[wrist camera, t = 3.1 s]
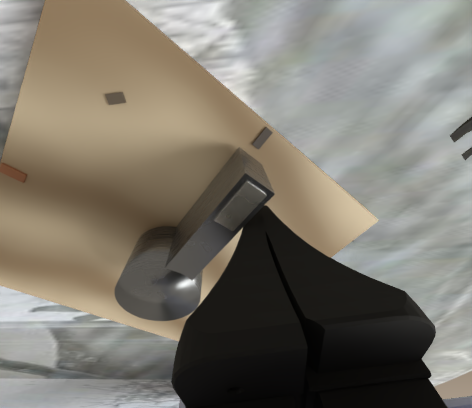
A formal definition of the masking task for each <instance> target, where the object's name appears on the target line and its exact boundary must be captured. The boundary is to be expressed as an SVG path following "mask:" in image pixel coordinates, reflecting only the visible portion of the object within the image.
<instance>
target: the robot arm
mask: <svg viewBox="0 0 472 408" xmlns="http://www.w3.org/2000/svg"><path fill="white" fill-rule="evenodd" d="M435 333H436V331H435V326H434V324H433V323H432V322H431V321H430V320H429V318H428V317H427V316H426V315H425V314H424V312H423V311H422V310H421V309H420V307H419V306H418V305H417V304H416V303H415V302H414V301H413V300H412V299H411V298H410V296H409V295H408V294H407V293H406V292H405V291H403V290H400V289H398V288H395V287H393V286H390V285H388V284H385V283H382V282H380V281H377V280H375V279H372V278H370V277H368V276H366V275H363V274H361V273H359V272H357V271H355V270H353V269H351V268H349V267H347V266H345V265H343V264H341V263H339V262H337V261H335V260H334V259H332V258H330V257H328V256H326V255H325V254H323V253H322V252H320V251H318V250H317V249H315V248H314V247H312V246H311V245H309V244H308V243H307V242H305V241H304V240H303V239H302V238H300V237H299V236H298V235H297V234H295V233H294V232H293V231H292V230H291V229H290V228H289V227H288V226H286V225H285V224H284V223H283V222H282V221H281V220H280V219H279V218H278V217H277V216H276V215H275V214H274V213H273V211H272V210H271V209H270V208H269V207H268V206H267V205H264V206H263V207H262V208H261V209H260V210H259V211H258V212H257V213H256V214H255V216H254V217H253V218H252V219H251V220H250V221H249V222H248V223H247V224H246V225H245V226H244V227H243V229H242V233H241V236H240V238H239V241H238V244H237V246H236V249H235V251H234V253H233V255H232V257H231V259H230V261H229V263H228V265H227V266H226V268H225V270H224V272H223V273H222V275H221V277H220V278H219V280H218V281H217V282H216V284H215V285H214V287H213V288H212V289H211V291H210V292H209V294H208V295H207V296H206V298H205V299H204V300H203V301H202V302H201V304H200V305H199V306H198V307H197V308H196V309H195V311H194V312H193V313H192V314H191V315H190V316H189V318H188V319H187V320H186V322H185V325H184V328H183V330H182V333H181V336H180V340H179V343H178V347H177V351H176V355H175V361H174V368H173V374H172V381H171V382H172V385H173V388H174V390H175V391H176V393H177V394H178V396H179V397H180V403H179V408H472V396H468V397H459V398H451V399H443V400H442V398H441V397H440V395H439V394H438V392H437V391H436V390H435V388H434V386H433V385H432V383H431V382H430V381H429V379H428V378H430V377H431V373H430V371H429V369H428V368H427V366H426V365H425V363H424V362H423V361H422V357H423V356H424V354H425V353H426V351H427V350H428V348H429V347H430V345H431V344H432V342H433V340H434V337H435Z"/></svg>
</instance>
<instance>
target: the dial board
mask: <svg viewBox="0 0 472 408" xmlns="http://www.w3.org/2000/svg"><path fill="white" fill-rule="evenodd" d="M238 147H240V148H241V149H243V150H244V151H245V152H247V153H248V154H249V155H251V156H252V157H253V158H255V159H256V160H257V161H259V162H260V163H261V164H262V166H263V168H264V170H265V172H266V175H267V177H268V179H269V181H270V184H271V186H272V188H273V190H274V193H275V195H274V196H273V197H272V198H271V199H270V200H269V201H268V202H267V203H266V204H265V205H267V206H268V207H269V208H270V209H271V210H272V211H273V213H274V214H275V215H276V216H277V217H278V218H279V219H280V220H281V221H282V222H283V223H284V224H285V225H286V226H288V227H289V228H290V229H291V230H292V231H293V232H294V233H295V234H297V235H298V236H299V237H300V238H302V239H303V240H304V241H305V242H307V243H308V244H309V245H311V246H312V247H314V248H315V249H317V250H318V251H320V252H322V253H323V254H325V255H326V256H328V257H330V258H331V257H332V256H333V255H335V254H336V253H337V252H339V251H340V250H341V249H343V248H344V247H345V246H346V245H348V244H349V243H350V242H352V241H353V240H354V239H355V238H357V237H358V236H359V235H361V234H362V233H363V232H365V231H366V230H367V229H368V228H370V227H371V226H372V225H374V224H375V223H376V222H378V221H379V220H378V219H377V218H376V217H375V216H374V215H373V214H371V213H370V212H369V211H368V210H367V209H366V208H365V207H364V206H363V205H362V204H361V203H359V202H358V201H357V200H356V199H355V198H354V197H352V196H351V195H350V194H349V193H348V192H347V191H345V190H344V189H343V188H342V187H341V186H340V185H339V184H337V183H336V182H335V181H334V180H333V179H332V178H330V177H329V176H328V175H327V174H326V173H325V172H324V171H322V170H321V169H320V168H319V167H318V166H317V165H315V164H314V163H313V162H312V161H311V160H310V159H308V158H307V157H306V156H305V155H304V154H303V153H302V152H300V151H299V150H298V149H297V148H296V147H295V146H293V145H292V144H291V143H290V142H289V141H288V140H286V139H285V138H284V137H283V136H282V135H281V134H280V133H278V132H277V131H276V130H275V129H274V128H273V127H271V126H270V125H269V124H268V123H267V122H266V121H264V120H263V119H262V118H261V117H260V116H259V115H258V114H256V113H255V112H254V111H253V110H252V109H251V108H249V107H248V106H247V105H246V104H245V103H244V102H242V101H241V100H240V99H239V98H238V97H237V96H236V95H234V94H233V93H232V92H231V91H230V90H229V89H227V88H226V87H225V86H224V85H223V84H222V83H221V82H219V81H218V80H217V79H216V78H215V77H214V76H212V75H211V74H210V73H209V72H208V71H207V70H205V69H204V68H203V67H202V66H201V65H200V64H199V63H197V62H196V61H195V60H194V59H193V58H192V57H190V56H189V55H188V54H187V53H186V52H185V51H183V50H182V49H181V48H180V47H179V46H178V45H177V44H175V43H174V42H173V41H172V40H171V39H170V38H168V37H167V36H166V35H165V34H164V33H163V32H161V31H160V30H159V29H158V28H157V27H156V26H155V25H153V24H152V23H151V22H150V21H149V20H148V19H146V18H145V17H144V16H143V15H142V14H141V13H139V12H138V11H137V10H136V9H135V8H134V7H133V6H131V5H130V4H129V3H128V2H127V1H126V0H45V3H44V6H43V10H42V13H41V17H40V21H39V24H38V28H37V32H36V35H35V39H34V42H33V46H32V50H31V53H30V57H29V60H28V64H27V68H26V71H25V75H24V79H23V82H22V86H21V89H20V93H19V97H18V100H17V104H16V107H15V111H14V115H13V118H12V122H11V126H10V129H9V133H8V136H7V140H6V144H5V147H4V151H3V154H2V158H1V162H0V285H1V286H4V287H7V288H10V289H13V290H17V291H20V292H23V293H26V294H29V295H33V296H36V297H39V298H42V299H45V300H49V301H52V302H55V303H58V304H61V305H64V306H68V307H71V308H74V309H77V310H80V311H84V312H87V313H90V314H93V315H96V316H100V317H103V318H106V319H109V320H112V321H116V322H119V323H122V324H125V325H128V326H132V327H135V328H138V329H141V330H144V331H148V332H151V333H154V334H157V335H160V336H164V337H167V338H170V339H173V340H176V341H179V340H180V336H181V333H182V330H183V328H184V325H185V322H186V320H187V319H188V318H189V316H190V315H191V314H192V313H193V312H194V311H195V310H194V311H193V312H192V313H190V314H189V315H187V316H185V317H183V318H180V319H176V320H171V321H152V320H147V319H143V318H139V317H137V316H134V315H132V314H130V313H129V312H127V311H126V310H124V309H123V308H122V307H121V306H120V305H119V303H118V302H117V300H116V298H115V293H114V291H115V286H116V284H117V282H118V280H119V278H120V276H121V273H122V271H123V269H124V267H125V265H126V263H127V261H128V259H129V257H130V255H131V253H132V251H133V249H134V247H135V245H136V242H137V241H138V239H139V237H140V236H141V235H142V234H143V233H145V232H146V231H148V230H150V229H152V228H156V227H161V226H172V227H177V225H178V224H179V223H180V222H181V220H182V219H183V218H184V216H185V215H186V214H187V213H188V211H189V210H190V209H191V208H192V206H193V205H194V204H195V202H196V201H197V200H198V199H199V197H200V196H201V195H202V193H203V192H204V191H205V190H206V188H207V187H208V186H209V184H210V183H211V182H212V181H213V179H214V178H215V177H216V176H217V174H218V173H219V172H220V170H221V169H222V168H223V167H224V165H225V164H226V163H227V161H228V160H229V159H230V158H231V156H232V155H233V154H234V153H235V151H236V150H237V149H238ZM242 229H243V228H242ZM242 229H241V230H240V231H239V232H238V233H237V234H236V235H235V236H234V237H233V238H232V240H231V241H230V242H229V243H228V244H227V245H226V246H225V247H224V248H223V249H222V250H221V251H220V252H219V253H218V254H217V255H216V256H215V257H214V258H213V259H212V260H211V261H210V262H209V264H208V265H207V266H206V267H205V268H204V269H203V275H202V287H201V298H200V303H199V305H200V304H201V302H202V301H203V300H204V299H205V298H206V296H207V295H208V294H209V292H210V291H211V289H212V288H213V287H214V285H215V284H216V282H217V281H218V280H219V278H220V277H221V275H222V273H223V272H224V270H225V268H226V266H227V265H228V263H229V261H230V259H231V257H232V255H233V253H234V251H235V249H236V246H237V244H238V241H239V238H240V236H241V233H242ZM199 305H198V306H199Z"/></svg>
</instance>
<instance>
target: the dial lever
mask: <svg viewBox="0 0 472 408" xmlns="http://www.w3.org/2000/svg"><path fill="white" fill-rule="evenodd" d="M274 195H275V193H274V190H273V188H272V186H271V184H270V181H269V179H268V177H267V175H266V172H265V170H264V168H263V166H262V164H261V163H260V162H259V161H257V160H256V159H255V158H253V157H252V156H251V155H249V154H248V153H247V152H245V151H244V150H243V149H241V148H240V147H238V149H237V150H236V151H235V153H234V154H233V155H232V156H231V158H230V159H229V160H228V161H227V163H226V164H225V165H224V167H223V168H222V169H221V170H220V172H219V173H218V174H217V176H216V177H215V178H214V179H213V181H212V182H211V183H210V184H209V186H208V187H207V188H206V190H205V191H204V192H203V193H202V195H201V196H200V197H199V199H198V200H197V201H196V202H195V204H194V205H193V206H192V208H191V209H190V210H189V211H188V213H187V214H186V215H185V216H184V218H183V219H182V220H181V222H180V223H179V224H178V225H177V227H172V226H161V227H156V228H152V229H150V230H148V231H146V232H145V233H143V234H142V235H141V236H140V237H139V239H138V241H137V242H136V245H135V247H134V249H133V251H132V253H131V255H130V257H129V259H128V261H127V263H126V265H125V267H124V269H123V271H122V273H121V276H120V278H119V280H118V282H117V284H116V286H115V291H114V293H115V298H116V300H117V302H118V303H119V305H120V306H121V307H122V308H123V309H124V310H126V311H127V312H129V313H130V314H132V315H134V316H137V317H139V318H143V319H147V320H152V321H171V320H176V319H180V318H183V317H185V316H187V315H189V314H190V313H192V312H193V311H194V310H195V309H196V308H197V307H198V305H199V303H200V298H201V287H202V275H203V269H204V268H205V267H206V266H207V265H208V264H209V262H210V261H211V260H212V259H213V258H214V257H215V256H216V255H217V254H218V253H219V252H220V251H221V250H222V249H223V248H224V247H225V246H226V245H227V244H228V243H229V242H230V241H231V240H232V238H233V237H234V236H235V235H236V234H237V233H238V232H239V231H240V230H241V229H242V228H243V227H244V226H245V225H246V224H247V223H248V222H249V221H250V220H251V219H252V218H253V217H254V216H255V214H256V213H257V212H258V211H259V210H260V209H261V208H262V207H263V206H264V205H265V204H266V203H267V202H268V201H269V200H270V199H271V198H272V197H273V196H274Z"/></svg>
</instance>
